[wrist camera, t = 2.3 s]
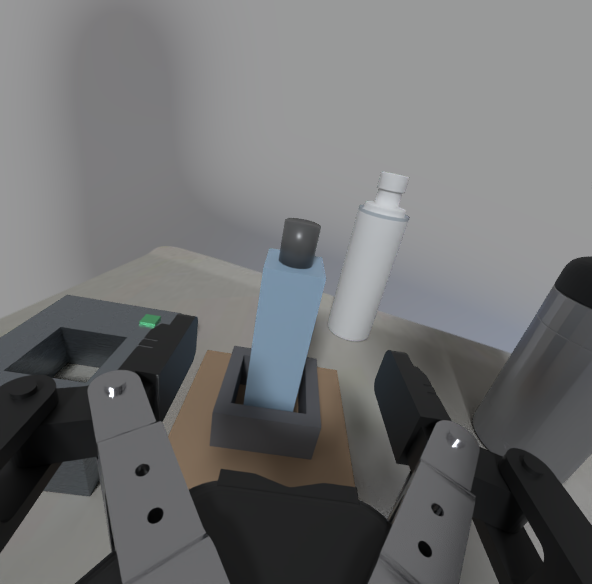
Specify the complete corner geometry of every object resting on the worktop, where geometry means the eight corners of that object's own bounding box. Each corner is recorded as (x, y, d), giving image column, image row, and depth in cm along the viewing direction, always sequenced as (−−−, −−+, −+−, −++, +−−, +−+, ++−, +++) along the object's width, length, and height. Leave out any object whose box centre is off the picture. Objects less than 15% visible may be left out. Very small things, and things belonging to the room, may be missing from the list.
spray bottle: (327, 314, 51) (370, 154, 40) (366, 323, 51) (419, 165, 40) (326, 335, 45) (376, 155, 34) (370, 345, 45) (434, 167, 34)
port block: (72, 327, 37) (66, 292, 35) (180, 344, 38) (181, 311, 35) (-109, 472, 20) (-140, 422, 18) (89, 496, 21) (81, 451, 19)
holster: (207, 353, 37) (209, 322, 35) (335, 373, 38) (344, 344, 36) (147, 488, 22) (144, 447, 20) (356, 514, 24) (373, 477, 22)
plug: (247, 392, 32) (275, 211, 24) (289, 398, 32) (330, 221, 24) (240, 427, 28) (269, 224, 20) (287, 434, 28) (336, 237, 20)
